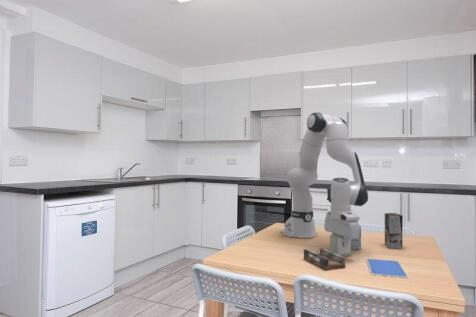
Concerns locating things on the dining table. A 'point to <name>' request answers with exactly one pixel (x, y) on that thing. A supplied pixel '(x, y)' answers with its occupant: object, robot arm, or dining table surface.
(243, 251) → the dining table surface
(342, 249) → the plain green carton
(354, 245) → the light bulb box
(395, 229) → the coffee box
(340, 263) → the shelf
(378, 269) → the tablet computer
